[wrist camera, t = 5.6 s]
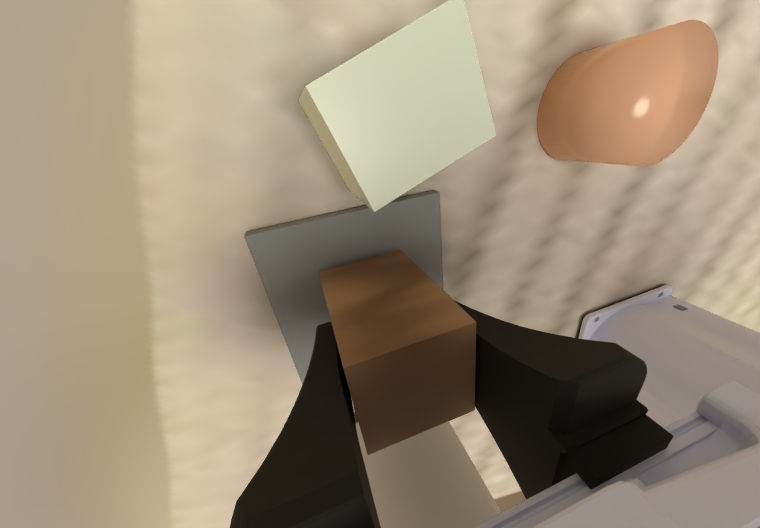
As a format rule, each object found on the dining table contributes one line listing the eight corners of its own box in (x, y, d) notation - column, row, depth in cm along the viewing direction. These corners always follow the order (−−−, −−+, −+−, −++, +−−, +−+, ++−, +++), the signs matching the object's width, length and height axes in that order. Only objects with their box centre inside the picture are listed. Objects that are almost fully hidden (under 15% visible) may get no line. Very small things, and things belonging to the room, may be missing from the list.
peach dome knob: (624, 44, 14) (737, 12, 10) (605, 150, 16) (693, 152, 13) (541, 59, 13) (634, 29, 9) (533, 169, 15) (607, 177, 12)
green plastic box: (405, 36, 11) (462, -8, 8) (439, 134, 13) (496, 135, 10) (297, 101, 11) (305, 85, 7) (349, 190, 13) (374, 212, 9)
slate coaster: (433, 190, 14) (439, 192, 13) (440, 328, 18) (444, 333, 18) (246, 231, 12) (244, 236, 11) (301, 375, 16) (302, 383, 16)
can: (321, 429, 19) (368, 803, 8) (415, 368, 19) (574, 652, 9) (372, 470, 22) (449, 763, 12) (450, 418, 23) (590, 659, 12)
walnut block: (400, 249, 13) (476, 321, 8) (408, 316, 15) (474, 410, 10) (318, 271, 12) (343, 368, 7) (337, 339, 14) (368, 455, 9)
